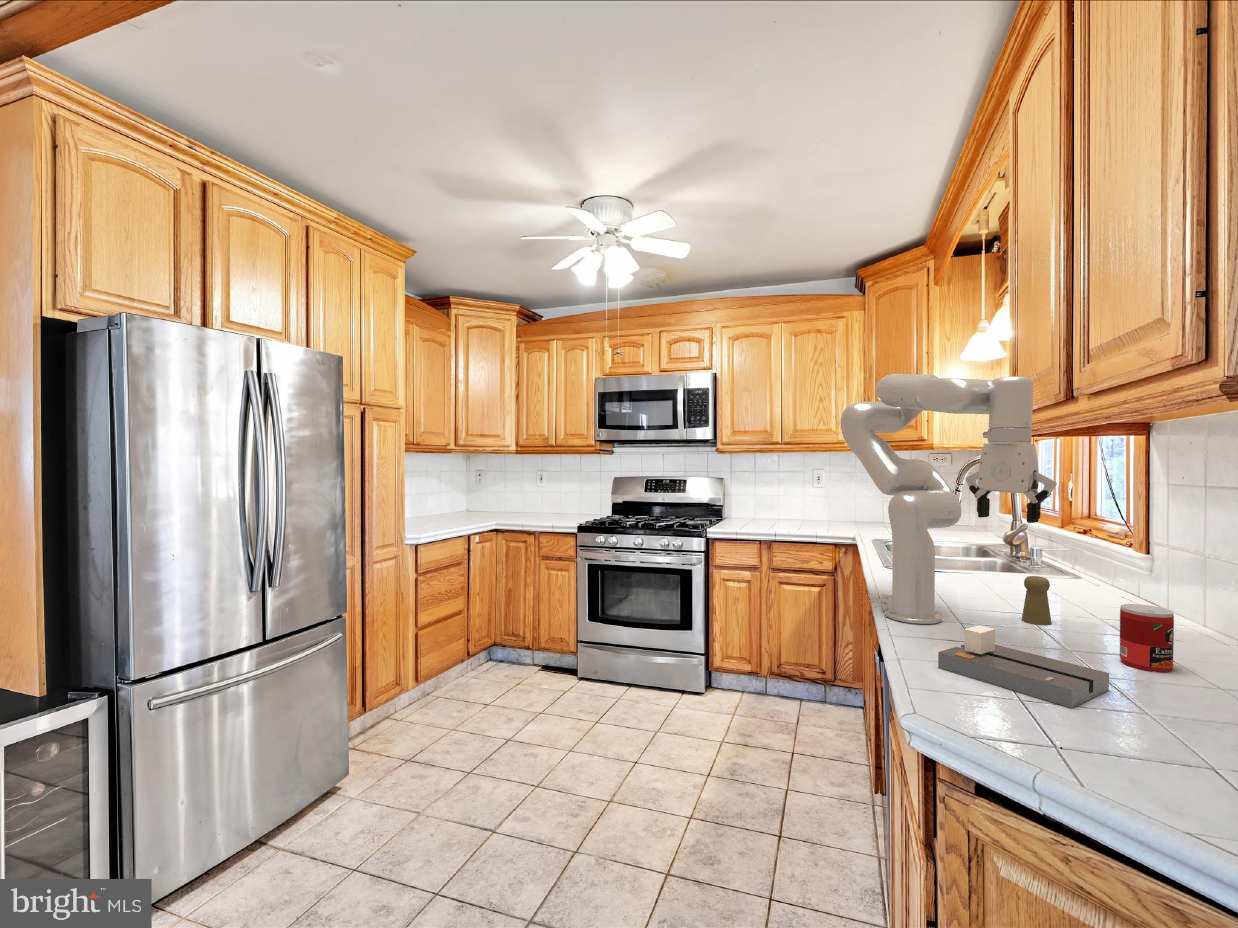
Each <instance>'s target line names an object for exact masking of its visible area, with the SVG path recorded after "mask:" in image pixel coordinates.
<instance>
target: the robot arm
mask: <svg viewBox="0 0 1238 928" xmlns="http://www.w3.org/2000/svg"><path fill="white" fill-rule="evenodd" d="M875 396H876V397H877V399H878V400H879V401H858V402H854V403H851V404H849V405H848V406H846V408H844V410H843V411H842V412H841V413H842V414H841V416H840V417H841V418H840V429H841V434H842V437H843V439H844V442H845V444H846V445H847V447H848V448H849V449H850V451H852V453H853V454H854V455H855V456H856V457H857V458H858V459H859V461H860V463H861V464H862V467H863V468H864V470H865V471H866V472H867V474H868V476H869V477H870V478H871V480H872V481H873V483H874V484H875V487H877V489H878V491H880V492H881V493H882V494H883V495H886V496H891V499H890V500H889V502H888V505H887V506H888V507H887V511H888V513H887V514H888V519H889V523H890V529H891V540H892V545H891V546H892V551H891V553H892V560H891V561H892V564H891V565H892V566H891V568H892V569H891V570H892V571H891V574H892V575H891V576H892V577H891V578H892V580H891V583H892V585H891V586H892V587H891V588H892V590H891V592H892V593H891V596H890V595H886V594H882V595H881V596H880V598H879V603H880V604H883V605H887V606H888V607H887V608H886V609H885V611H884V612H885V616H886V617H887V618H889V619H891V620H894V621H898V622H902V623H907V624H908V623H909V624H916V625H933V624H938V623H941V622H942V615H941V614H940V613H938V612H937V611H935V610H936V608H935V605H936V603H935V602H936V600H935V598H936V595H935V594H936V593H935V592H936V590H935V588H936V587H935V586H936V585H935V584H936V582H935V581H936V577H935V576H936V575H935V574H936V550H935V548H936V547H935V545H934V544H935V543H934V540H933V538H932V536H931V535H930V533H929V530H930V529H944V528H949V527H953V526H954V525H956V524H957V523H958V522H959V521H960V519H961V517H962V505H961V502H960V500H959V498H958V497H957V495H956V494H955V492H954V490H953V489H952V488H951V486H950V485H949V484H948V482H947V481H946V480H945V478H944V477H943V476H942V475H941V473H940V472H939V471H938V470H937V468H936V467H935V466H934V465H933V464H931V463H930V462H928V461H926V460H924V459H918V458H917V459H916V458H915V459H912V458H911V459H908V458H907V459H906V458H904V457H903V458H901V457H900V456H899V455H898V454H897V453H896V452H895V451H894V449H893V448H892V446H891V444H890V443H888V442H887V441H886V440H885V439H884V438H883V437H881V436H879V435H877V433H880V434H883V433H884V434H888V433H889V434H893V433H898V432H900V431H903V430H904V429H905V428H906V427H908V425H910V424H911V423H912V422H913V421H914V420H915V419H916V418H918V416H919V415H920V414H922V412H923V411H926V412H928V411H929V412H937V413H945V414H946V413H947V414H959V415H960V414H961V415H971V414H972V415H988V428H987V431H983V433H982V437H983V439H987V443H983V446H982V449H981V453H980V458H979V464H978V471H976V472H974V473H972V474H970V475H968V476H966V477H965V478H964V480H965V482H966V484H967V487H968V489H969V492H970V493H972V494H973V496H974V498H976V512H977V513H976V514H977V517H978V518H979V519H980V518H988V517H990V503H991V499H990V498H989V497H988V496H989V495H990V494H991V493H992V492H998V493H999V492H1000V493H1014V494H1015V493H1016V494H1024V495H1025V497H1026V498H1027V499H1028V500H1029V502H1028V503H1027V504H1026V523H1028V524H1033V523H1034V524H1037V523H1038V522H1039V520H1040V519H1041V506H1042V505H1041V504H1042V503H1044V502H1045V500H1046V499H1047V498H1049V497H1050V496H1051V495H1052V492H1053V491H1054V490H1055V488H1056V487H1057V482H1056V481H1055V480H1053V479H1051V478H1049V477H1047V476H1045V475H1044V474H1042V473H1040V472H1039V461H1038V459H1039V458H1038V454H1037V449H1036V444H1033V443H1032V438H1033V437H1032V436H1033V435H1032V433H1033V409H1034V408H1033V407H1034V405H1033V404H1034V403H1033V402H1034V382H1033V380H1032V379H1031V378H1030V377H1028V376H1016V375H1015V376H1003V377H1002V376H1001V377H996V378H994V379H981V378H952V377H951V378H949V377H948V378H947V377H946V378H945V377H939V376H936V375H932V374H915V373H912V374H911V373H891V374H887V375H885V376H883V377H882V378H881V379H879V380H878V382H877V384H876V387H875ZM1039 483H1041V484H1042V485H1043V489H1042V490H1041V491H1039V490H1038V489H1039ZM928 529H929V530H928Z"/></svg>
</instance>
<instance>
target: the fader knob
mask: <svg viewBox="0 0 1238 928" xmlns="http://www.w3.org/2000/svg"><path fill="white" fill-rule="evenodd" d="M964 644H965V650H966V651H970V652H974V653H978V654H984V653H987V652H990V651H993V650H995V645H996V629H995V628H993V627H988V626H984V625H976V626H971V627H968V628H965V629H964Z"/></svg>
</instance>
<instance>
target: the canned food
mask: <svg viewBox="0 0 1238 928" xmlns="http://www.w3.org/2000/svg"><path fill="white" fill-rule="evenodd" d="M1174 628H1175V616H1174V611H1172V610H1170V609H1167V608H1164V607H1160V606H1156V605H1155V606H1154V605H1148V604H1140V603H1125V604H1124V603H1123V604H1121V605H1120V607H1119V659H1120V662H1121V663H1122V664H1124V665H1126V666H1128V667H1131V668H1133V669H1137V670H1142V671H1146V672H1152V671H1156V672H1155V673H1167V672H1166V671H1169V672H1171V671H1172V669H1173V667H1174V644H1175V643H1174V641H1175V640H1174V636H1175V635H1174V633H1175V631H1174V630H1175V629H1174Z"/></svg>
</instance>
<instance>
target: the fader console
mask: <svg viewBox="0 0 1238 928" xmlns="http://www.w3.org/2000/svg"><path fill="white" fill-rule="evenodd" d="M937 657H938V659H937V665H938V666H937V668H938V669H941V668H942V669H941V670H944V671H948V672H951V673H955V674H958V675H960V676H961V675H962V676H964V677H967V678H971V679H974V680H977V681H981V682H984V683H987V684H991V685H994V686H996V687H1001V688H1004V689H1007V690H1010V691H1014V692H1017V693H1019V694H1023V695H1025V696H1026V695H1027V696H1031V697H1033V698H1037V699H1039V700H1042V701H1043V700H1044V701H1047V702H1050V703H1053V704H1056V705H1060V706H1062V707H1065V708H1069V709H1073V708H1075V707H1077V706H1079V705H1082V704H1084V703H1086V702H1088V701H1090V700H1092V699H1094V698H1095V697H1096V698H1097V697H1098V696H1100V695H1102V694H1105V693H1107V692H1108V691H1110V672H1106V671H1102V670H1100V669H1099V670H1098V669H1094V668H1091V667H1087V666H1082V665H1078V664H1074V663H1070V662H1067V661H1063V660H1059V659H1055V658H1051V657H1047V656H1043V655H1038V654H1034V653H1030V652H1027V651H1022V650H1020V649H1019V650H1018V649H1016V648H1015V649H1014V648H1011V647H1008V646H1007V647H1006V646H1002V645H999V644H995V650H993V651H990V652H987V653H984V654H978V653H974V652H970V651H966V650H965V643H964V644H961V645H960V647H959V646H953V647H951V648H948V649H944V650H940V651H938V655H937Z"/></svg>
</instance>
